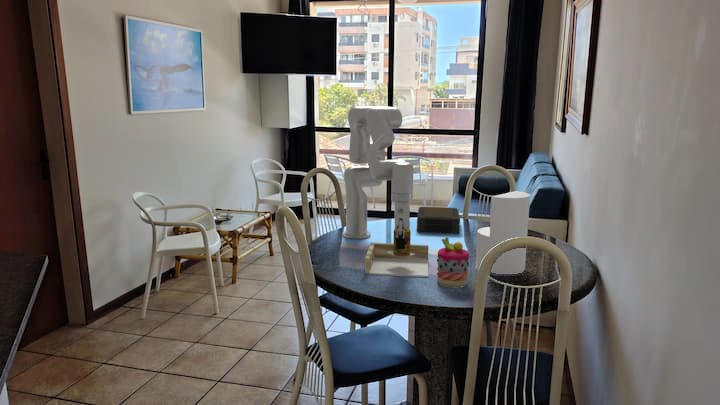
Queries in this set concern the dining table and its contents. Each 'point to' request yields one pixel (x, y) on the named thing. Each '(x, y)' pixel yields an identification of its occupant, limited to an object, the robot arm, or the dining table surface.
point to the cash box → (438, 220)
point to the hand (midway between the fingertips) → (400, 245)
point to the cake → (452, 265)
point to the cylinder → (505, 231)
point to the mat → (399, 267)
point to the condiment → (405, 251)
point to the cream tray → (383, 248)
